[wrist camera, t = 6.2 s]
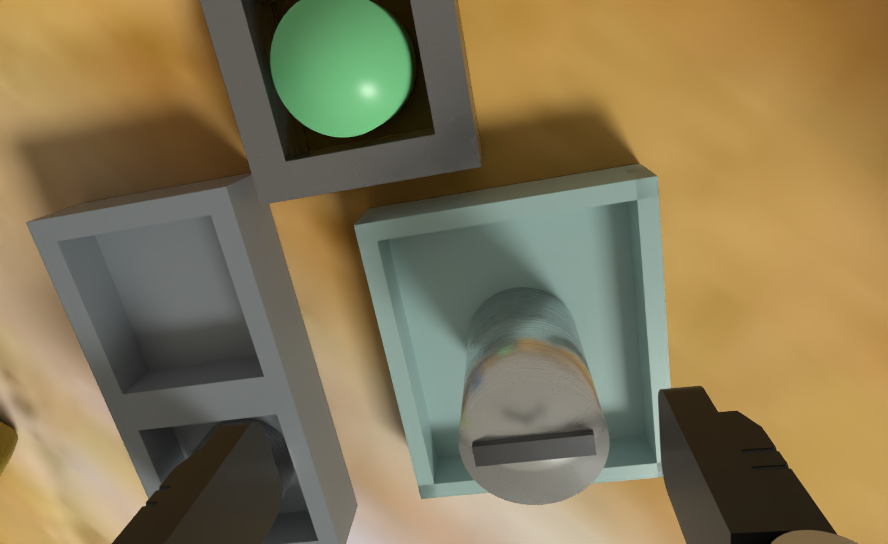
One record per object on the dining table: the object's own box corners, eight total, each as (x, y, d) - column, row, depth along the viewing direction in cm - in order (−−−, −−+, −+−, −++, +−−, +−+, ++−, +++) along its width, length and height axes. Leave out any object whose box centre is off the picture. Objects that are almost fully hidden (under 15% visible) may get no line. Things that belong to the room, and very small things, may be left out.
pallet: (81, 203, 27) (26, 222, 24) (259, 171, 26) (225, 186, 22) (209, 518, 33) (179, 567, 30) (357, 505, 32) (342, 554, 29)
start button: (402, -14, 22) (389, -24, 19) (427, 116, 24) (418, 124, 21) (282, 13, 23) (253, 7, 20) (314, 137, 25) (291, 148, 22)
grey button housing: (444, -81, 22) (437, -102, 19) (482, 154, 25) (480, 167, 22) (224, -29, 23) (187, -42, 20) (286, 189, 26) (260, 204, 23)
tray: (640, 163, 24) (657, 176, 22) (659, 437, 29) (675, 475, 26) (367, 208, 26) (353, 225, 23) (427, 461, 30) (421, 498, 28)
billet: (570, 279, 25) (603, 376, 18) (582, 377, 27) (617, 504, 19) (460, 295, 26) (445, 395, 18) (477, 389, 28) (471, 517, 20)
